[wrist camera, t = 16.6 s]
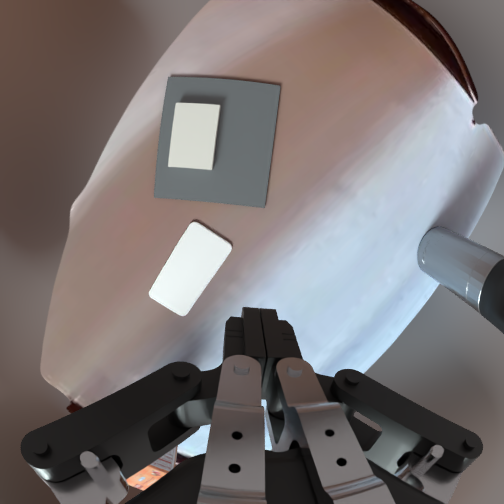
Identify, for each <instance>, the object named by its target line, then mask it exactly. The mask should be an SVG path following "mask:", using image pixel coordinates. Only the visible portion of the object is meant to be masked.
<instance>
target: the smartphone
mask: <svg viewBox="0 0 504 504" xmlns="http://www.w3.org/2000/svg"><path fill="white" fill-rule="evenodd" d="M231 249H232V246H231V244H230V243H229V242H228V241H226V240H225V239H223V238H221V237H220V236H218V235H217V234H215V233H214V232H212V231H211V230H209V229H208V228H206V227H204V226H203V225H201V224H200V223H198V222H192V223H191V224H190V225H189V226H188V228H187V230H186V231H185V233H184V234H183V236H182V237H181V239H180V240H179V242H178V244H177V245H176V247H175V248H174V250H173V252H172V254H171V255H170V257H169V259H168V260H167V262H166V264H165V265H164V267H163V269H162V271H161V272H160V274H159V276H158V277H157V279H156V281H155V282H154V284H153V286H152V288H151V289H150V291H149V296H150V297H151V298H152V299H154V300H155V301H157V302H159V303H160V304H162V305H163V306H165V307H167V308H168V309H170V310H172V311H173V312H175V313H177V314H178V315H180V316H185V315H186V314H187V313H188V312H189V310H190V309H191V307H192V306H193V305H194V303H195V302H196V300H197V299H198V297H199V296H200V294H201V293H202V292H203V290H204V289H205V287H206V286H207V284H208V283H209V282H210V280H211V279H212V277H213V276H214V275H215V273H216V272H217V270H218V269H219V268H220V266H221V264H222V263H223V262H224V260H225V259H226V257H227V256H228V255H229V253H230V252H231Z"/></svg>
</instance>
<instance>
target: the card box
mask: <svg viewBox="0 0 504 504" xmlns="http://www.w3.org/2000/svg"><path fill="white" fill-rule="evenodd" d="M220 108H221V107H220V105H214V104H198V103H176V105H175V112H174V119H173V126H172V134H171V143H170V152H169V161H168V167H180V168H194V169H206V170H213V163H214V154H215V146H216V138H217V130H218V123H219V115H220Z"/></svg>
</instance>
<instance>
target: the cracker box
mask: <svg viewBox="0 0 504 504" xmlns="http://www.w3.org/2000/svg"><path fill="white" fill-rule="evenodd" d="M177 447H178V445H177V446H176V447H175V448H173V449H172V450H170V451H169V452H168V453H166V454H165V455H163V456H162V457H160V458H159V459H157V460H156V461H154V462H153V463H151V464H150V465H148V466H147V467H145V468H144V469H142V470H141V471H139V472H138V473H136V474H134V475H133V476H131V477H130V478H128V479H126V480H127V483H128V485H131V486H133V487H136V488H138V489H141V490H145V489H147V488H148V487H149V486H151V485H152V484H153V483H155V482H156V481H157V480H159V479H160V478H161V477H163V476H164V475H165V474H167V473H168V472H169V471H171V470H172V469H173V468H174V467H175V463H176V455H177Z"/></svg>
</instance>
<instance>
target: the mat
mask: <svg viewBox="0 0 504 504" xmlns="http://www.w3.org/2000/svg"><path fill="white" fill-rule="evenodd" d="M279 94H280V86H278V85H272V84H265V83H258V82H250V81H241V80H230V79H218V78H199V77H168V81H167V87H166V93H165V99H164V106H163V112H162V120H161V127H160V135H159V144H158V153H157V164H156V175H155V189H154V197H155V198H168V199H181V200H193V201H204V202H214V203H224V204H234V205H243V206H252V207H261V208H265V201H266V194H267V186H268V179H269V171H270V164H271V156H272V148H273V141H274V133H275V125H276V118H277V110H278V102H279ZM176 103H198V104H214V105H220V107H221V108H220V115H219V123H218V130H217V138H216V146H215V154H214V163H213V170H206V169H194V168H180V167H168V161H169V152H170V143H171V134H172V126H173V119H174V112H175V105H176Z"/></svg>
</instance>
